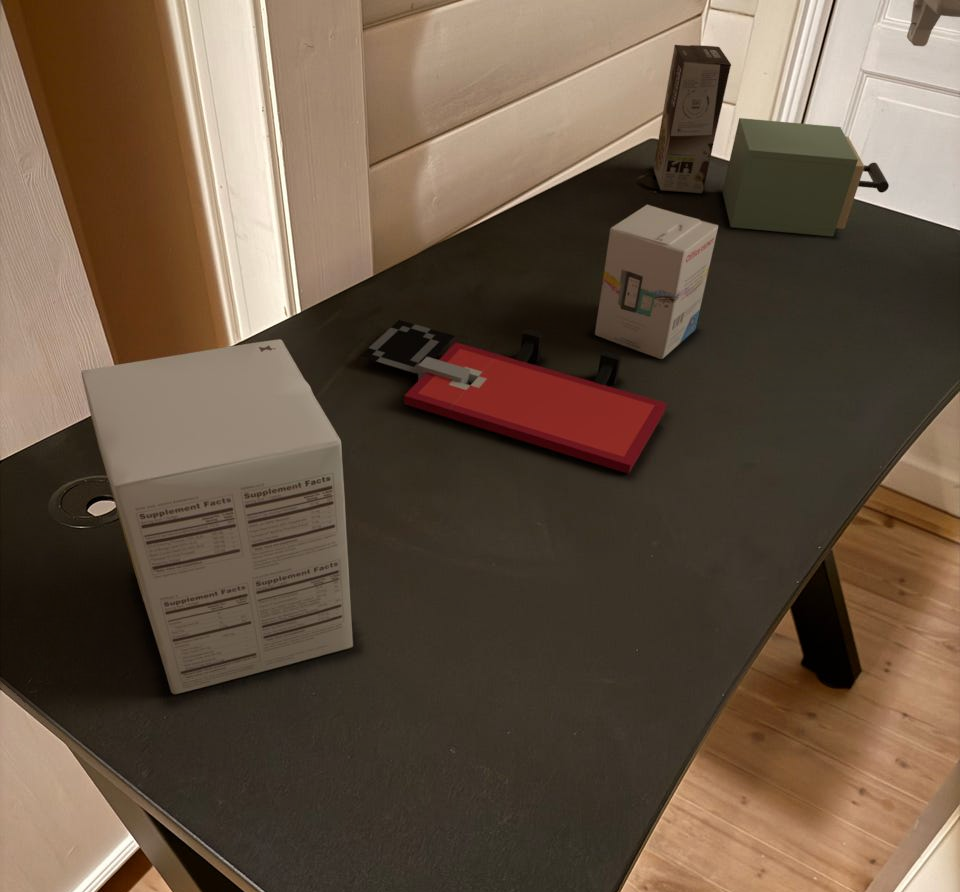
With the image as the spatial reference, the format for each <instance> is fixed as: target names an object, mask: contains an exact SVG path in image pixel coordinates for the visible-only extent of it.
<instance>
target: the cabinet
mask: <svg viewBox="0 0 960 892" xmlns="http://www.w3.org/2000/svg"><path fill="white" fill-rule="evenodd" d="M732 143H733V144H732V148H731V152H730V157H729V162H728V165H727V169H726V175H725V178H724V183H723V187H722V191H721V192H722V197H723V200H724V205H725V209H726V214H727V219H728V222H729V227H730V228H734V229H735V228H736V229H746V230H755V231H768V232H778V233H790V234H799V235H800V234H801V235H811V236H821V237H834V236H835V233H836V229H837V228H836V227H837V224H838V221H839V218H840V214H841V211H842V208H843V205H844V202H845V199H846V196H847V193H848V189H849V186H850V183H851V180H852V177H853V174H854V171H855V168H856V164H857V161H858V159H857V157H856V155H855V153H854V151H853V150H852V148H851V146H850V144H849V142H848V140H847V138H846V135H845V133H844V131H843V129H842V127H841V126H833V125H823V124H811V123H800V122H788V121H777V120H765V119H756V118H755V119H754V118H745V117H739V118H738V122H737V126H736V131H735V135H734V138H733V142H732Z"/></svg>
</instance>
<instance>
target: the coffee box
mask: <svg viewBox="0 0 960 892" xmlns="http://www.w3.org/2000/svg"><path fill="white" fill-rule="evenodd" d="M731 67H732V63H731V62H730V60H729V59H728V57H727V56H726V55H725V53H724V52H723V50H722V48H721V47H720V46H714V45H701V44H700V45H697V44H695V45H694V44H691V45H684V44H674V47H673V53H672V58H671V64H670V70H669V75H668V80H667V85H666V92H665V98H664V104H663V109H662V110H663V111H662V115H661V123H660V127H659V128H660V129H659V134H658V140H657V146H656V150H655V158H654V164H653V172H654V174H655V177H656V181H657V184H658V187H659V190H660V191H663V192H664V191H665V192H680V193H693V194H703V192H704V189H705V184H706V180H707V176H708V170H709V166H710V163H711V162H710V161H711V157H712V152H713V147H714V144H715V143H714V142H715V138H716V134H717V129H718V125H719V119H720V116H721V111H722V107H723V102H724V98H725V94H726V89H727V86H728V85H727V84H728V80H729V75H730V71H731Z"/></svg>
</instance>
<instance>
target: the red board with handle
mask: <svg viewBox="0 0 960 892" xmlns="http://www.w3.org/2000/svg"><path fill="white" fill-rule="evenodd" d="M455 337H456V335H453V334H450V333H447V332H443V331H439V330H436V329H432V328H429V327H426V326H422V325H418V324H414V323H411V322H408V321H404V320H401V319H398V320H397V321H396V322H395V323H394V324H393V325H392V326H390V328H389V329H387V330H386V331H385V332H384V333H383V334H382V335H381V336H380V337H379V338H377V339H376V340H375V342H373V343H372V344H371V345H370V346H369V347H368V348H367V349H366V350H364V351H363V352H362V353H361V354H360V355H359V357H361V358H364V359H366V360H371V361H374V362H378V363H380V364H384V365H387V366H391V367H394V368H397V369H400V370H403V371H407V372H410V373H414V374H417V382H416V383H415V384H413V386H412V387H411V388H410V389H409V390H408V391H407V392H406V393H405V394H404V399H403V400H404V403H403V404H404V405H406V406H410V407H413V408H415V409H419V410H421V411H426V412H428V413H432V414H435V415H439V416H441V417H445V418H448V419H451V420H454V421H457V422H460V423H464V424H467V425H471V426H473V427H476V428H479V429H483V430H486V431H488V432H492V433H496V434H499V435H502V436H506V437H509V438H512V439H515V440H518V441H520V442H521V441H522V442H525V443H528V444H531V445H535V446H538V447H541V448H544V449H547V450H551V451H553V452H557V453H560V454H563V455H566V456H570V457H573V458H575V459H576V458H577V459H579V460H583V461H586V462H589V463H592V464H595V465H599V466H601V467H605V468H608V469H612V470H615V471H618V472H621V473H625V474H628V475H630V473H631V471H632V469H633V467H634V466H635V464H636V462H637V460H638V459H639V457H640V455H641V454H642V452H643V451H644V448H645V447H646V445H647V444H648V442H649V440H650V438H651V436H652V435H653V433H654V432H655V429H656V428H657V426H658V424H659V423H660V421H661V419H662V418H663V416H664V414H665V412H666V409H667V405H668V402H663V401H660V400H656V399H653V398H650V397H646V396H643V395H639V394H636V393H633V392H629V391H625V390H622V389H619V388H616V387H612V386H615V385H616V383H617V381H618V379H619V378H618V377H619V373H620V369H621V368H620V367H621V363H622V357H623V355H621V354H617V353H614V352H611V351H607V350H603V351H602V353H601V354H600V359H599V364H598V370H597V375H596V377H595V378H594V380H593V381H591V380H588V379H585V378H581V377H577V376H574V375H570V374H567V373H563V372H560V371H556V370H553V369H550V368H547V367H542V366H539V365H536V364H537V363H539V362H538V361H540V360H541V355H542V345H543V338H544V333H542V332H539V331H535V330H532V329H529V328H525V329H524V330H523V332H522V333H521V344H520V345H521V346H520V350H518V353H517V354H516V357H514V358H511V357H508V356H504V355H502V354H498V353H494V352H491V351H487V350H484V349H480V348H477V347H474V346H470V345H467V344H463V343H460V342H454V343H453V344H452V345H451V346H450V348H449V349H448V350H447V351H446V352H445V353H444V354H443V355H442V356H441V357H440V358H439V359H436V358H435V357H436V356H437V355H438V354H440V352H441V351H442V350H444V348H445V347H446V346H447V345H448V344H449V343H450V342H451V341H452V340H453V339H454V338H455ZM529 362H533V363H536V364H532V363H529ZM470 383H471V384H470ZM607 384H609V385H612V386H608V385H607Z"/></svg>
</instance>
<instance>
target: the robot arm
mask: <svg viewBox="0 0 960 892" xmlns="http://www.w3.org/2000/svg"><path fill="white" fill-rule="evenodd" d="M911 11H912V12H911V19H910V25H909V28H908V31H907V34H906V39H907V40H908V41H909V42H910V43H911V45H913V46H914V47H925V46H926V45H927V44H928V42H929V39H930V36H931V34H932V32H933V31H932V30H934V28H935V26H936V24H937V23H938V21H939V20H940V18H941V16H943V17H952V18H960V0H913V4H912V10H911Z"/></svg>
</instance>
